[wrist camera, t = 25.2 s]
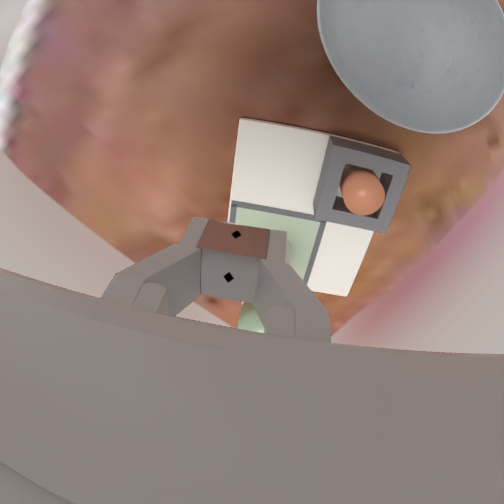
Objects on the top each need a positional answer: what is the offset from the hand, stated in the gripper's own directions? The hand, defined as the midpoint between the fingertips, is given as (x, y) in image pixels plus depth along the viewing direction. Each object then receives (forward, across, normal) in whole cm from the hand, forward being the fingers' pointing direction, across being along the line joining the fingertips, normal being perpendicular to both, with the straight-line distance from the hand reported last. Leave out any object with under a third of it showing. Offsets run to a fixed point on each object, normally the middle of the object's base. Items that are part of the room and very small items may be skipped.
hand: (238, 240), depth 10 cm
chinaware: (+20, -9, -10) cm, 25 cm away
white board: (+20, -4, +10) cm, 23 cm away
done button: (+19, -9, +5) cm, 21 cm away
